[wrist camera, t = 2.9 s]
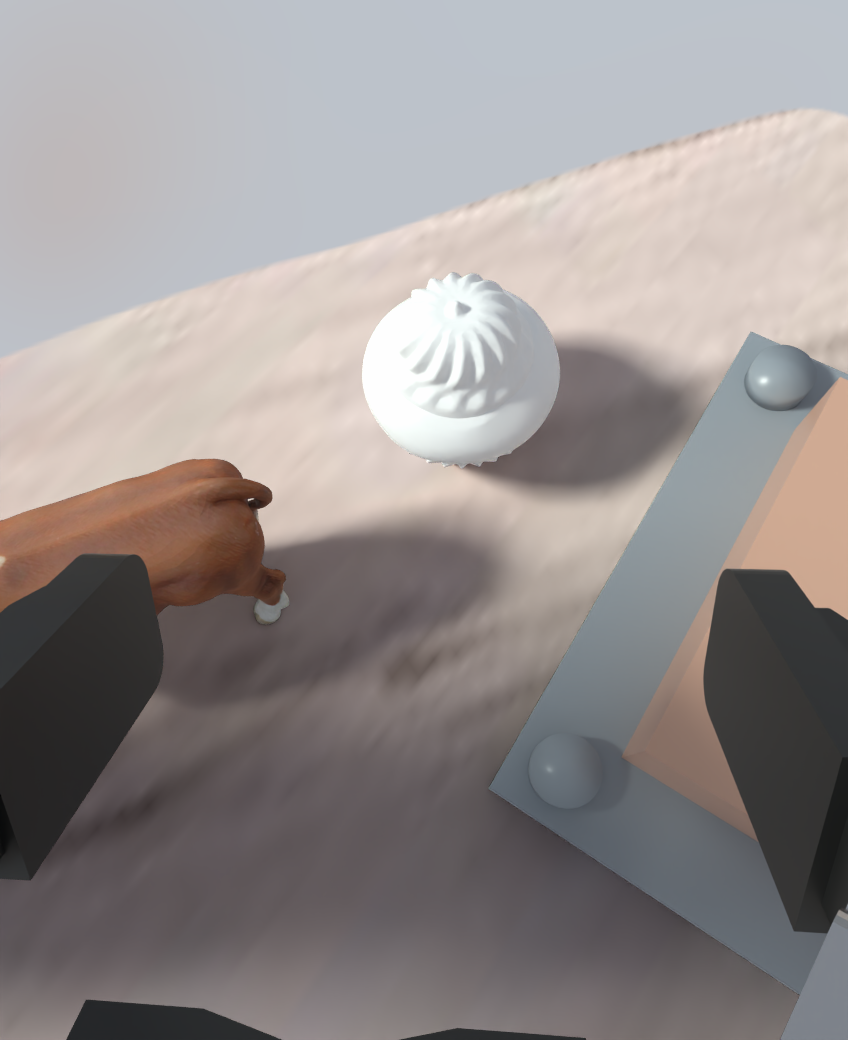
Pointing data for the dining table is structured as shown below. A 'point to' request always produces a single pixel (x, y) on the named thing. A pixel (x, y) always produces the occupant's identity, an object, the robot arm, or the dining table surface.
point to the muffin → (461, 372)
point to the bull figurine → (154, 537)
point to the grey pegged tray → (694, 658)
